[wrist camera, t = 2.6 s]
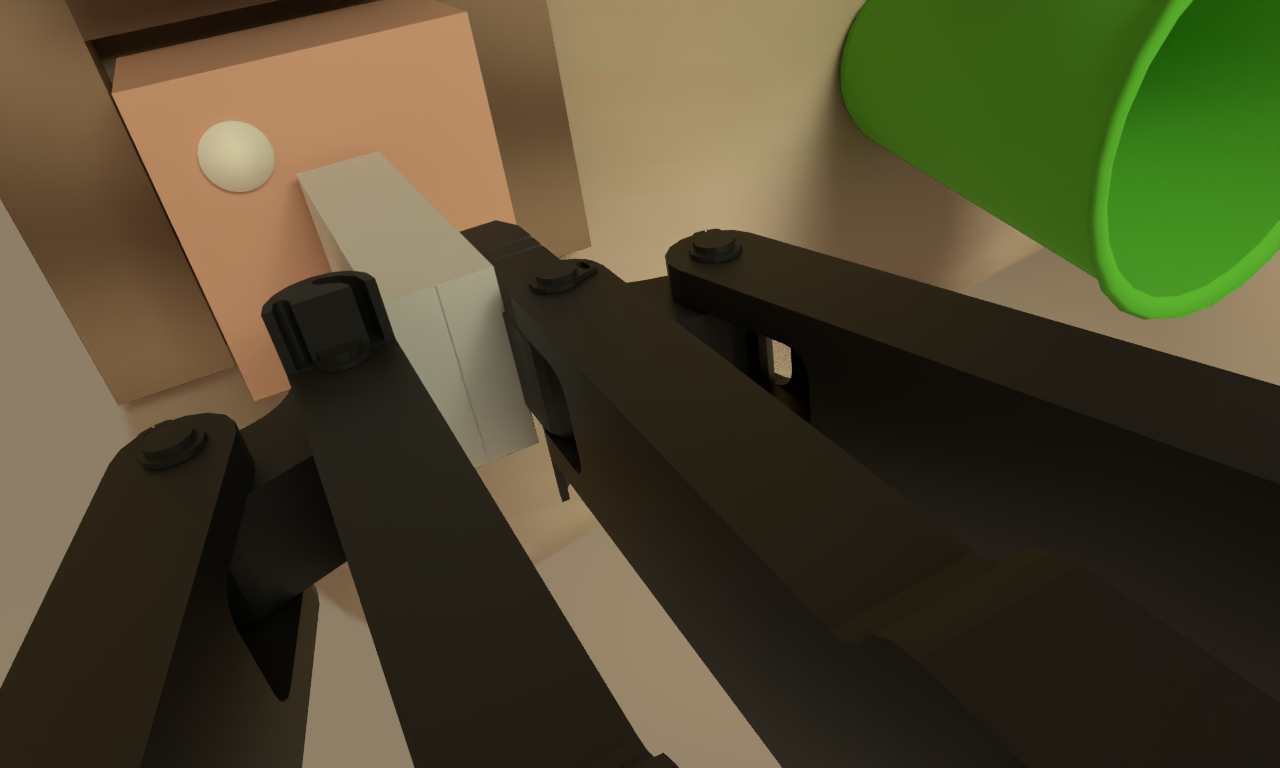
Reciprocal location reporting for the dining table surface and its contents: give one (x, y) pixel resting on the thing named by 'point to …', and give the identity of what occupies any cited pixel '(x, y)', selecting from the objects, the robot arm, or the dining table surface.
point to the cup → (1091, 129)
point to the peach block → (305, 143)
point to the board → (133, 212)
